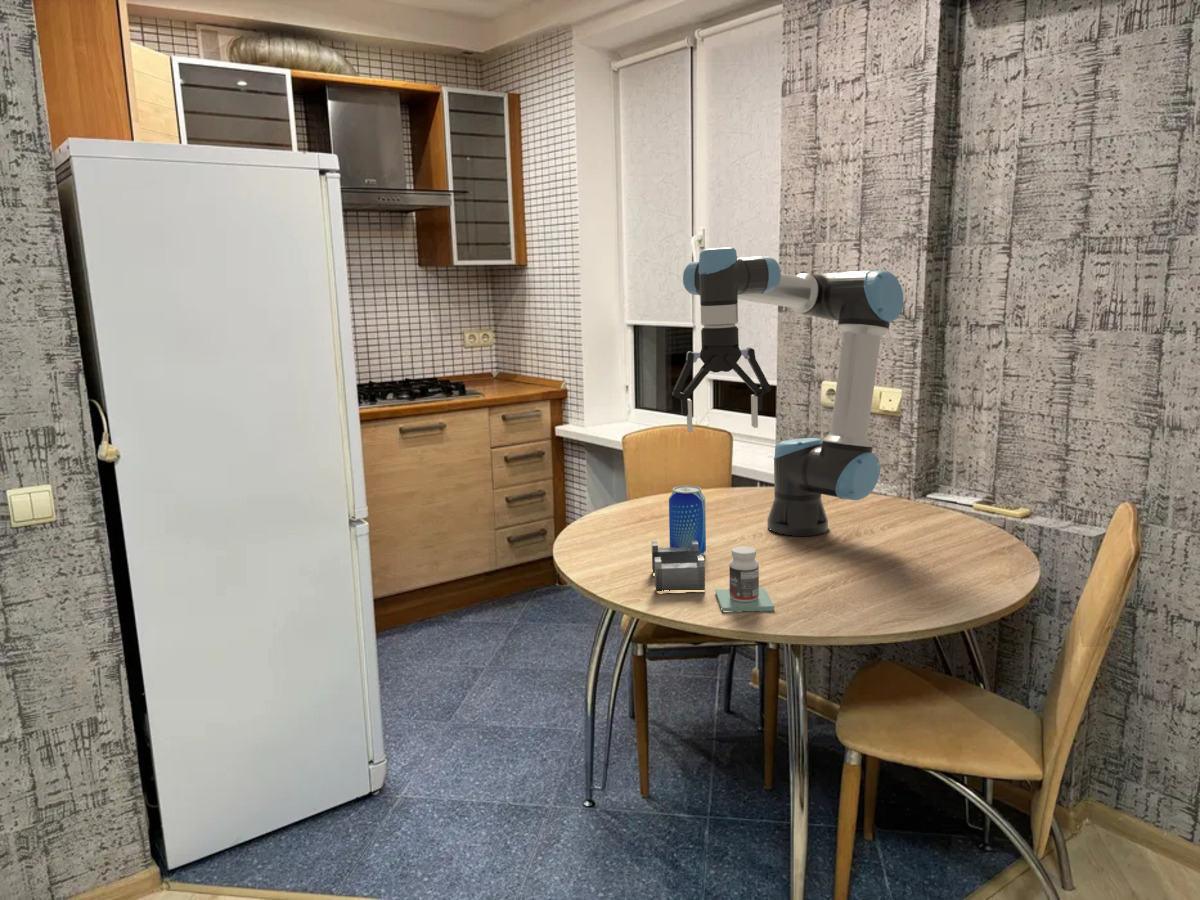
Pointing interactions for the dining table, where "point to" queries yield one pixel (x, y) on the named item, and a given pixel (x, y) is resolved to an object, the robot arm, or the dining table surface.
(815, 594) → the dining table surface
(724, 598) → the coaster
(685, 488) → the beer can
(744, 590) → the pill bottle
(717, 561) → the dining table surface
